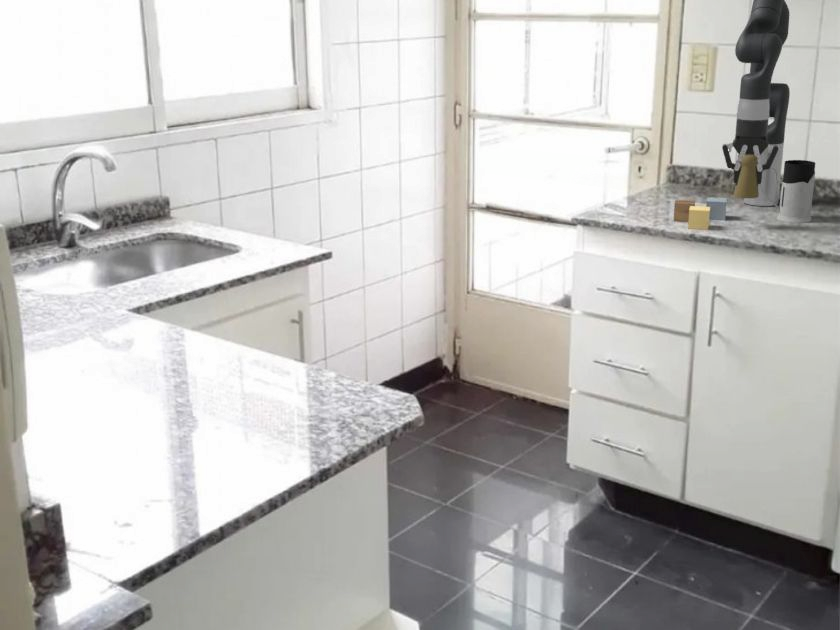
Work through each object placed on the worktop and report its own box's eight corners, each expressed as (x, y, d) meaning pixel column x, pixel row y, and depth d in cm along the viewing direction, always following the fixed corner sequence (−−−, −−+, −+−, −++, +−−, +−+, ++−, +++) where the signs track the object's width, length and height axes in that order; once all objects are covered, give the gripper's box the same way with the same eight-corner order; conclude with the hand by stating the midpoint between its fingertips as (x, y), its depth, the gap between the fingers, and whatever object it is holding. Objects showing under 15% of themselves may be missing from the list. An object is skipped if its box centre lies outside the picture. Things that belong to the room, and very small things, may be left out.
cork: (755, 193, 256) (759, 150, 252) (760, 198, 250) (764, 154, 247) (731, 193, 256) (735, 150, 253) (736, 198, 251) (739, 154, 247)
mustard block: (688, 224, 259) (690, 205, 257) (708, 225, 258) (710, 206, 256) (687, 229, 254) (689, 209, 253) (708, 230, 253) (709, 210, 251)
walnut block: (674, 217, 267) (675, 199, 266) (693, 218, 266) (695, 200, 264) (673, 221, 263) (674, 203, 261) (693, 222, 261) (694, 203, 260)
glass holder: (814, 223, 258) (820, 165, 253) (756, 221, 261) (761, 164, 256) (809, 216, 266) (815, 159, 261) (753, 214, 269) (758, 158, 264)
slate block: (705, 215, 269) (707, 197, 267) (725, 216, 267) (726, 198, 266) (705, 219, 264) (706, 201, 263) (725, 220, 263) (726, 202, 261)
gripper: (782, 115, 248) (776, 183, 254) (722, 114, 252) (717, 181, 258) (783, 119, 242) (777, 189, 247) (722, 118, 246) (717, 187, 251)
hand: (746, 185), depth 252 cm, fingers closed on cork, 4 cm apart
